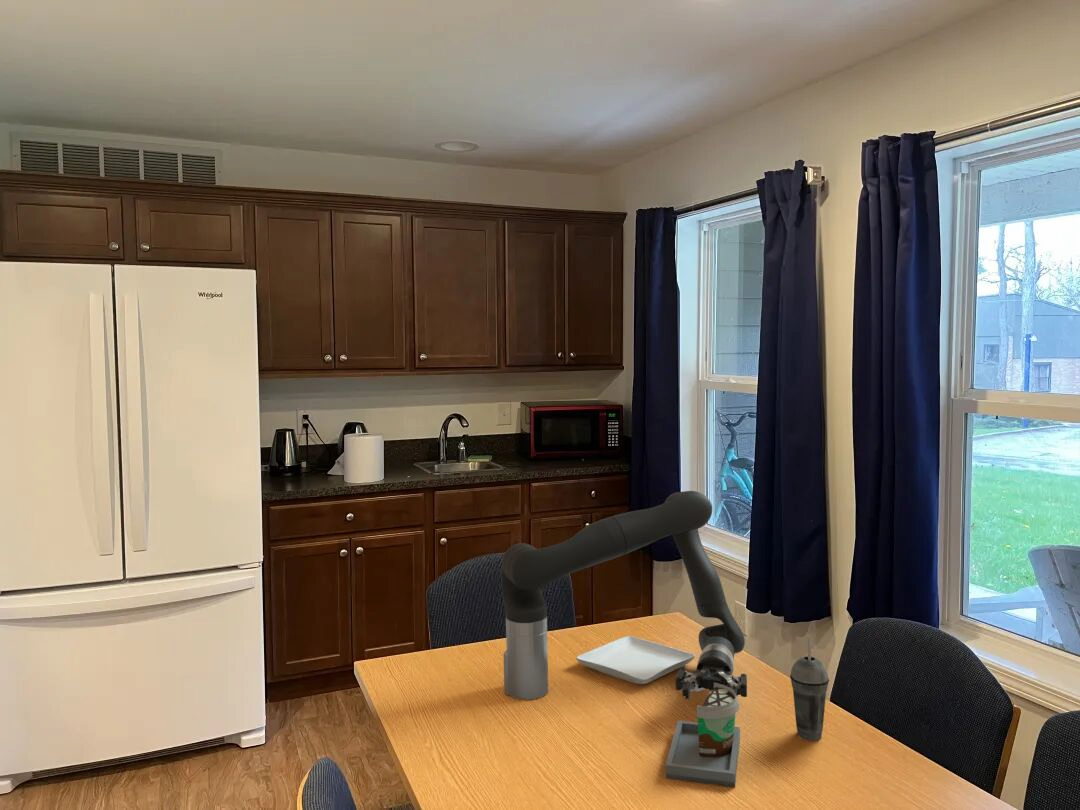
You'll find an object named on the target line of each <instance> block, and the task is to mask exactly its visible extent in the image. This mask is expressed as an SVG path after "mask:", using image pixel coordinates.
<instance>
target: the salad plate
mask: <svg viewBox="0 0 1080 810" xmlns="http://www.w3.org/2000/svg"><path fill="white" fill-rule="evenodd" d="M695 657H696V655H695V653H691V652H688V651H685V650H682V649H678V648H675V647H671V646H670V645H669V646H668V645H665V644H662V643H658V642H654V641H651V640H648V639H647V640H646V639H644V638H643V639H642V638H640V637H635V636H632V635H627V636H623V637H621V638H619V639H616V640H613V641H611V642H609V643H606V644H603V645H601V646H598V647H596V648H593V649H591V650H590V651H587V652H584V653H581V654H580V655H578V656H576V661H577V662H579V663H580V664H581V665H583V666H585V667H587V668H590V669H593V670H596V671H597V672H599V673H602V674H604V675H605V674H606V675H608V676H612V677H614V678H617V679H621V680H624V681H626V682H628V683H629V682H630V683H632V684H635V685H636V684H638V685H645V684H649V683H651V682H653V681H655V680H657V679H659V678H661V677H663V676H665V675H667V674H669V673H671V672H673V671H675V670H678V669H680V668H683V667H685V666H687V664H690V663H691V662H692V661H693V660H694V659H695Z"/></svg>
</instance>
